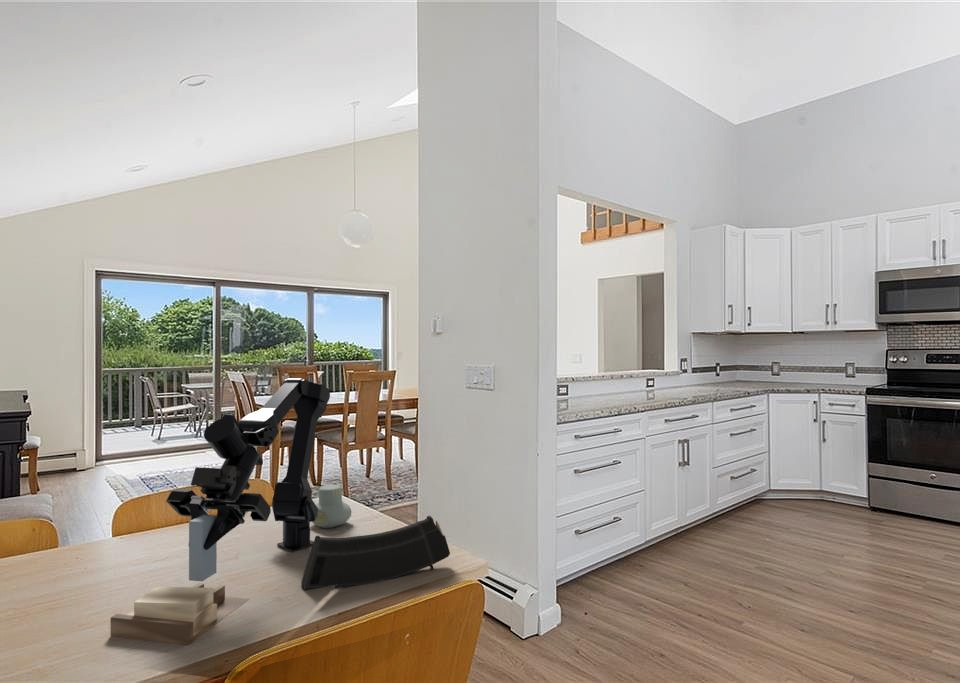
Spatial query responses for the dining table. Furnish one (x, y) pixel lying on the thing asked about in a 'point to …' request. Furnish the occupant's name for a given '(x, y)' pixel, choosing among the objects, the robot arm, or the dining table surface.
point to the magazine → (374, 555)
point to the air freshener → (331, 507)
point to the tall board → (201, 549)
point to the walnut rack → (171, 622)
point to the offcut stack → (178, 605)
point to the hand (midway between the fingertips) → (197, 548)
